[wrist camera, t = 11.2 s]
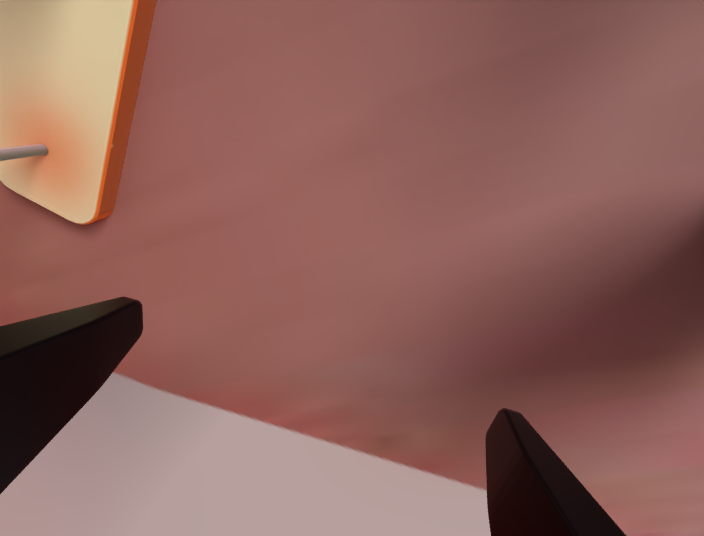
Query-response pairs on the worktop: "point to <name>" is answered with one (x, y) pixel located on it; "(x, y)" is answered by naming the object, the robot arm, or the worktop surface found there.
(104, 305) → the robot arm
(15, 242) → the worktop surface
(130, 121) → the crank mechanism
